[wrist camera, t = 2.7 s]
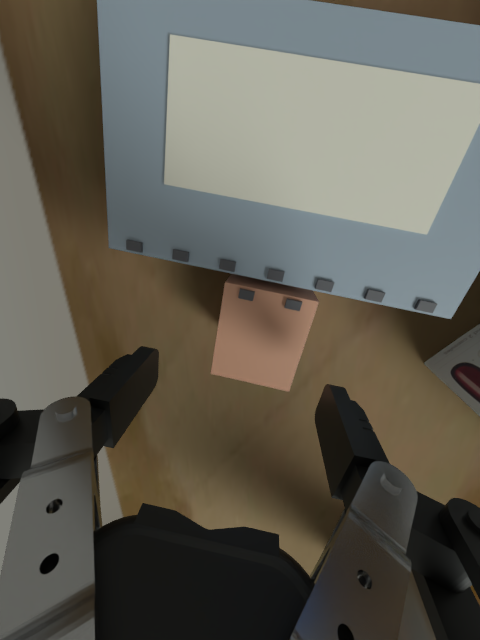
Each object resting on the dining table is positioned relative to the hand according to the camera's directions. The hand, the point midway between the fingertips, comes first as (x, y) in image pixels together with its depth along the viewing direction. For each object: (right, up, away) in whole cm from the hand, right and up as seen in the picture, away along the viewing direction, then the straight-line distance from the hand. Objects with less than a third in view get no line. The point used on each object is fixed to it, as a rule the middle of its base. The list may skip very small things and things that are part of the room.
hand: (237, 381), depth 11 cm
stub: (+2, +4, +8) cm, 9 cm away
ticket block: (+3, +12, +4) cm, 13 cm away
